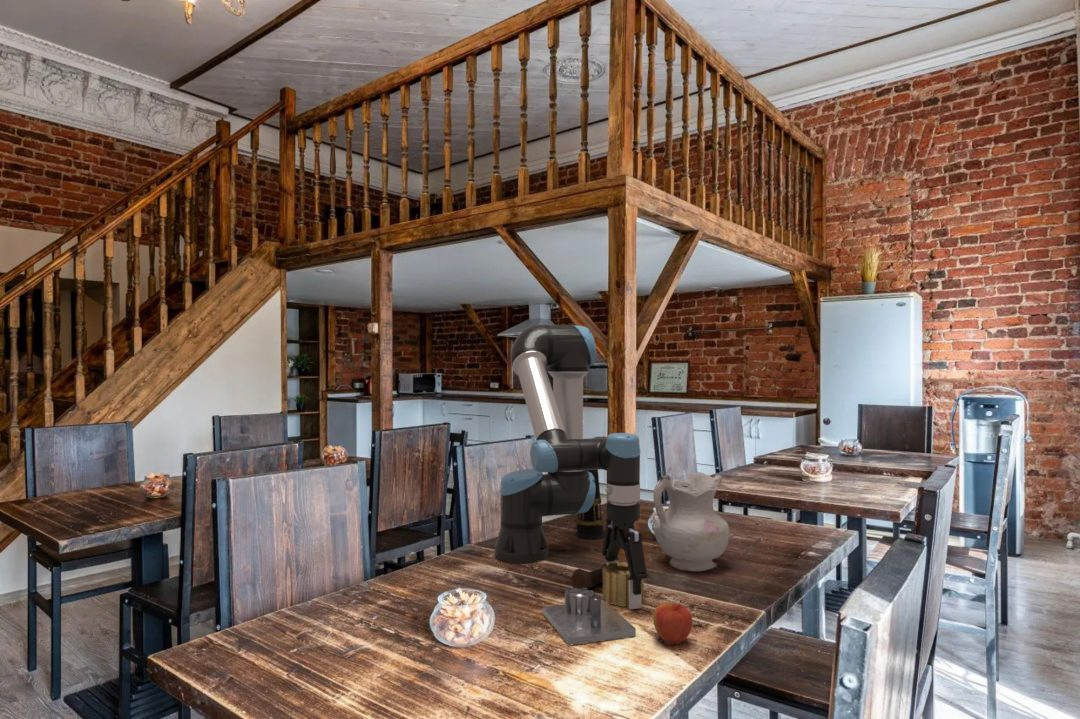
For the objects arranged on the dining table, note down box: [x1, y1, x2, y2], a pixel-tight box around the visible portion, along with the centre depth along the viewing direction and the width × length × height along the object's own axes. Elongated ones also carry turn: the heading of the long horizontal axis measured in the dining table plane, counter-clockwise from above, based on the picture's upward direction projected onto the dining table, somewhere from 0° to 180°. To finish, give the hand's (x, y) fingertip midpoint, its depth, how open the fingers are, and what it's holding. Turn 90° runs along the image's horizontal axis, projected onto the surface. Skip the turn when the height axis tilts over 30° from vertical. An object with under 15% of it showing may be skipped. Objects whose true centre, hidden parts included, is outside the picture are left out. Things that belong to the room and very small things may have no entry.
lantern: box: [574, 470, 605, 541], centre depth 196 cm, size 9×9×30 cm
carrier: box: [542, 587, 637, 646], centre depth 128 cm, size 16×14×7 cm
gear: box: [602, 561, 645, 607], centre depth 142 cm, size 9×9×7 cm
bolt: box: [571, 562, 607, 591], centre depth 152 cm, size 6×5×15 cm
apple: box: [652, 599, 693, 645], centre depth 121 cm, size 7×7×8 cm
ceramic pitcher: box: [652, 471, 730, 573], centre depth 167 cm, size 22×20×25 cm
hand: (623, 598), depth 142 cm, fingers open, 11 cm apart
